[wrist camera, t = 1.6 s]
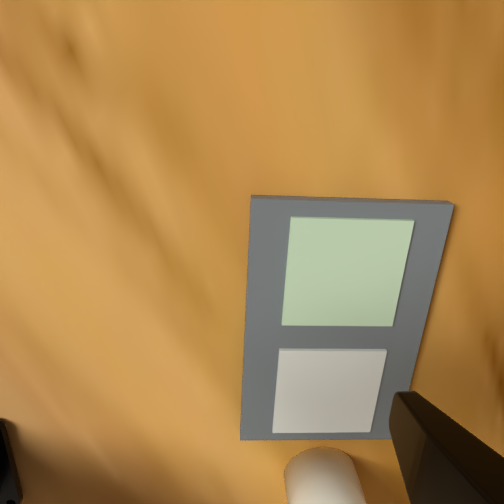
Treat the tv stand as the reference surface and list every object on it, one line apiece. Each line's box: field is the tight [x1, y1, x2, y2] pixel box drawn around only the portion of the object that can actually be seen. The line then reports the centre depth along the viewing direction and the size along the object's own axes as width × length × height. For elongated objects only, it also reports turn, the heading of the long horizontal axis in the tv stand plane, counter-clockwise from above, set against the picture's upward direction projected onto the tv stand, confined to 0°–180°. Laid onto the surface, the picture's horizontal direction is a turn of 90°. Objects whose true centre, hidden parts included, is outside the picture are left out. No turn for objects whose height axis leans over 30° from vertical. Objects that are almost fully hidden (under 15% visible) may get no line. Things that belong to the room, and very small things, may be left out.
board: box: [240, 195, 454, 440], centre depth 21 cm, size 14×9×1 cm, turn 178°
